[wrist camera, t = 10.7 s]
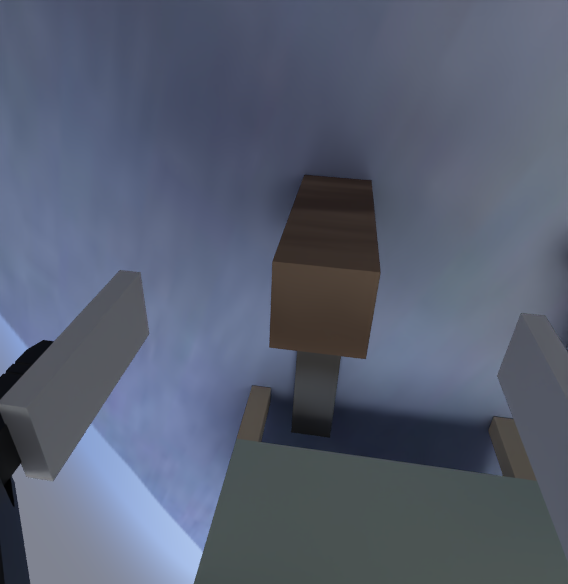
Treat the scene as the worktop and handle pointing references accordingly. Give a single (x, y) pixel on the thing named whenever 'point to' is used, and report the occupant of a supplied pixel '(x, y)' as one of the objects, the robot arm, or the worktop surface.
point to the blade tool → (324, 290)
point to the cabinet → (376, 517)
